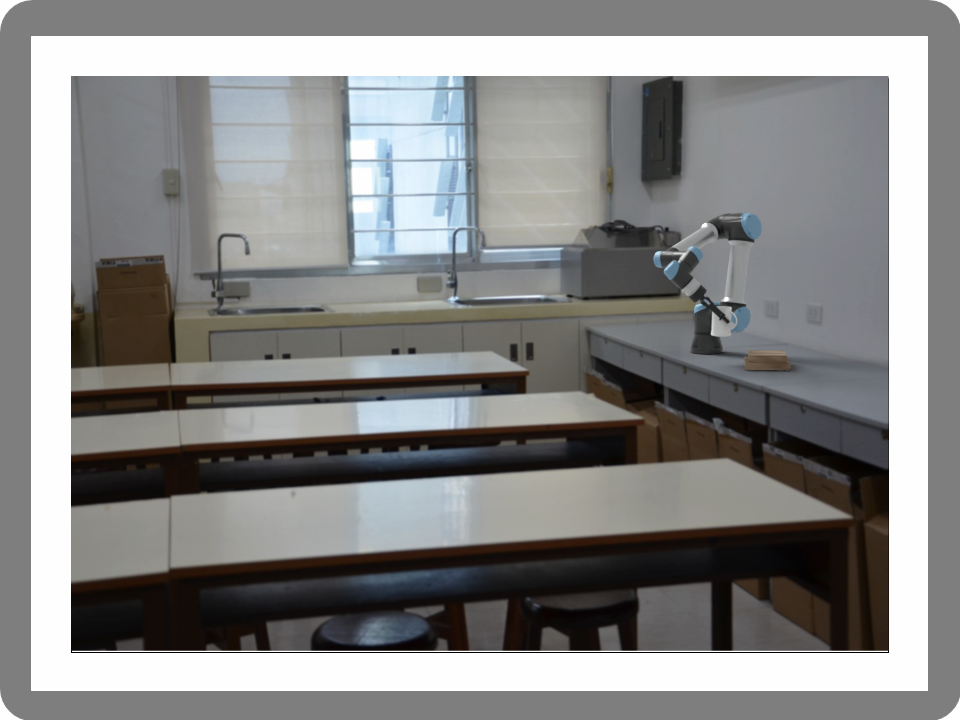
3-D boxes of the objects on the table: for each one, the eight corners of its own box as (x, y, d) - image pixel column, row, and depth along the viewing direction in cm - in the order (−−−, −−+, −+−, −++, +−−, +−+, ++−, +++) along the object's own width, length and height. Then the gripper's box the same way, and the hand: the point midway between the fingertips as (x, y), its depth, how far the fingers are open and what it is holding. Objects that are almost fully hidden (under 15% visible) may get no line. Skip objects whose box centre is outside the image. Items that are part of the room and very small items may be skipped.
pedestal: (744, 363, 412) (744, 349, 411) (788, 363, 408) (788, 350, 407) (744, 370, 394) (745, 356, 393) (790, 371, 390) (791, 356, 389)
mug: (741, 336, 410) (742, 308, 407) (729, 338, 405) (730, 310, 402) (719, 332, 419) (720, 305, 416) (706, 334, 414) (707, 307, 411)
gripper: (684, 294, 421) (721, 329, 422) (691, 299, 400) (730, 336, 401) (696, 282, 420) (733, 317, 421) (704, 286, 399) (743, 323, 400)
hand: (731, 326), depth 411 cm, fingers closed on mug, 9 cm apart
